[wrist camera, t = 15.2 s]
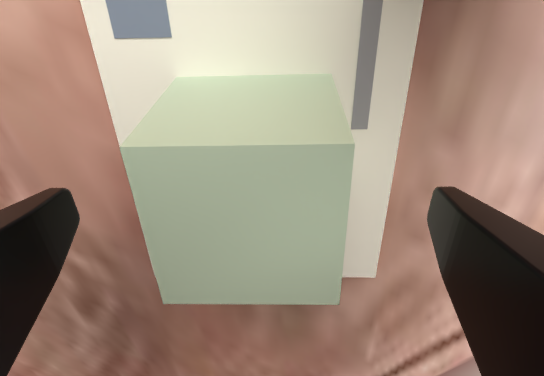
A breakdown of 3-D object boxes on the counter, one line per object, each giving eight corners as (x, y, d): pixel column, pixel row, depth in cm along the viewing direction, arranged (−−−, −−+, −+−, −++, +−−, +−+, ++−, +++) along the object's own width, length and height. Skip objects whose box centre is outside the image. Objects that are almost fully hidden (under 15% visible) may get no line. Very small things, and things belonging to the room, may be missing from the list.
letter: (373, 273, 15) (375, 278, 15) (156, 271, 16) (154, 276, 16) (436, -92, 9) (440, -92, 9) (63, -80, 9) (57, -80, 9)
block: (324, 201, 13) (339, 305, 10) (197, 202, 14) (163, 304, 10) (331, 73, 11) (355, 143, 7) (176, 77, 11) (119, 147, 7)
